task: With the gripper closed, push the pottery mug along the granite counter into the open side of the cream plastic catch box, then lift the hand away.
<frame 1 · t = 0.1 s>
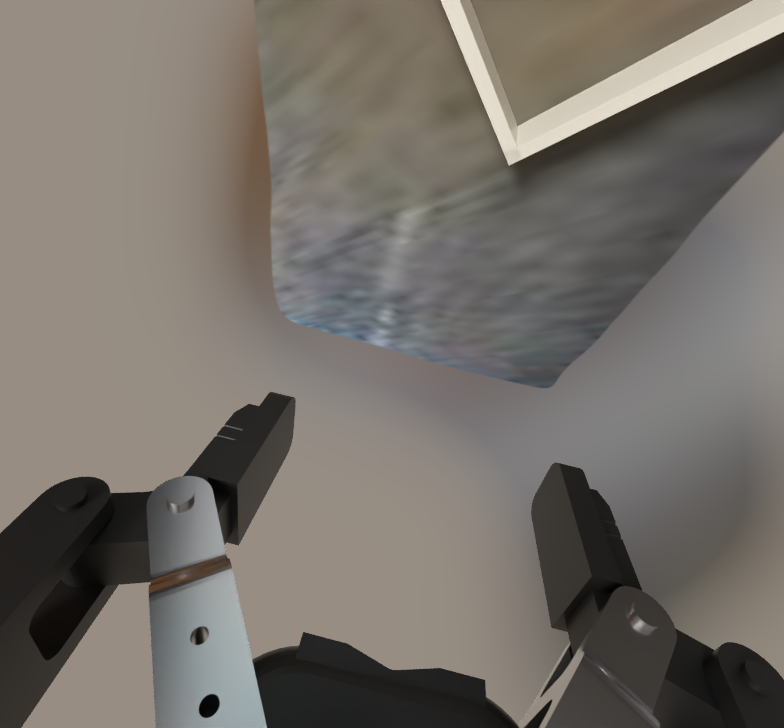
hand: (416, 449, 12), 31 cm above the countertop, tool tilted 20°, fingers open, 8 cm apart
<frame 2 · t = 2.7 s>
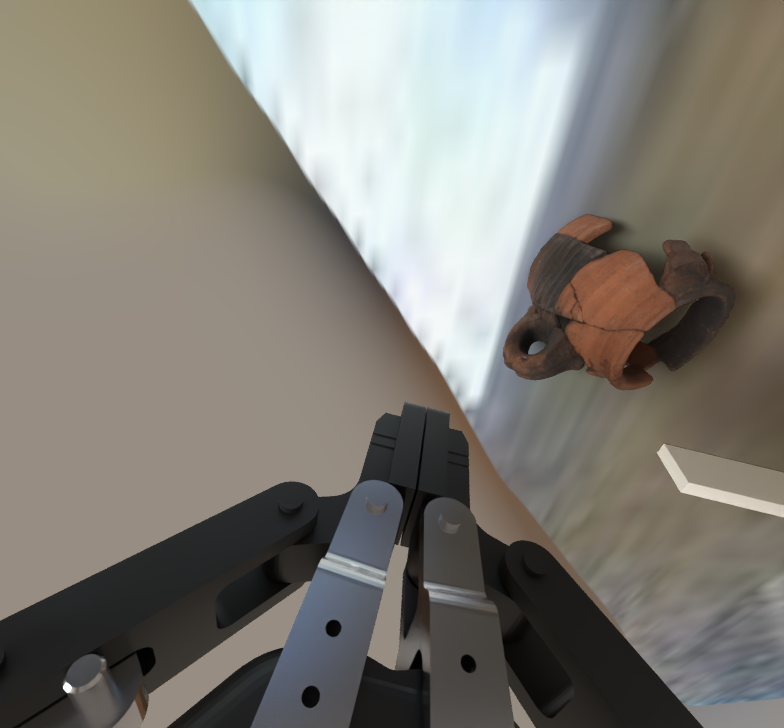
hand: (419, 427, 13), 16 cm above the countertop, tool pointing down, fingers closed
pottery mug: (584, 294, 27), on the countertop
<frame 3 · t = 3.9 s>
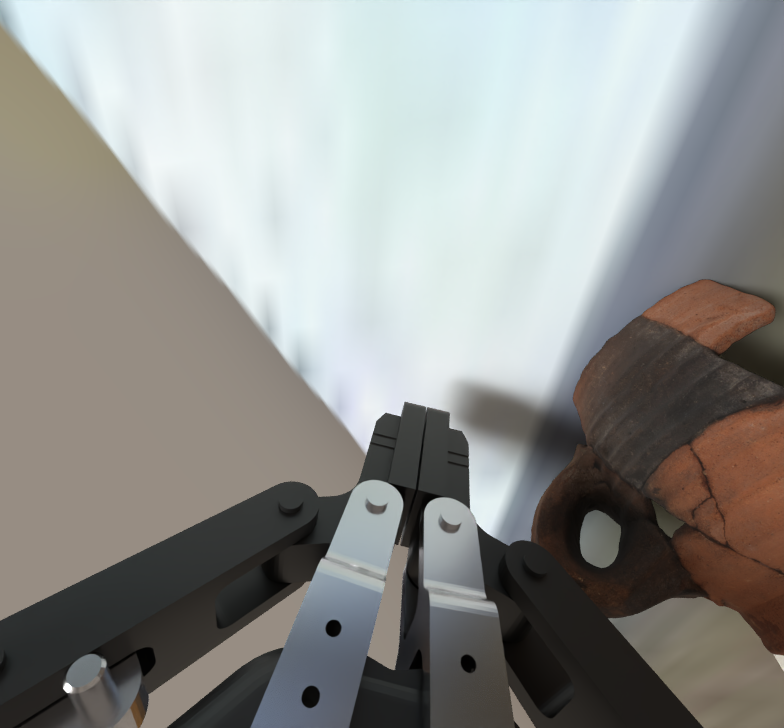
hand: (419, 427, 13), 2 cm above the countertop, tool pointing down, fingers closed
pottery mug: (677, 412, 15), on the countertop
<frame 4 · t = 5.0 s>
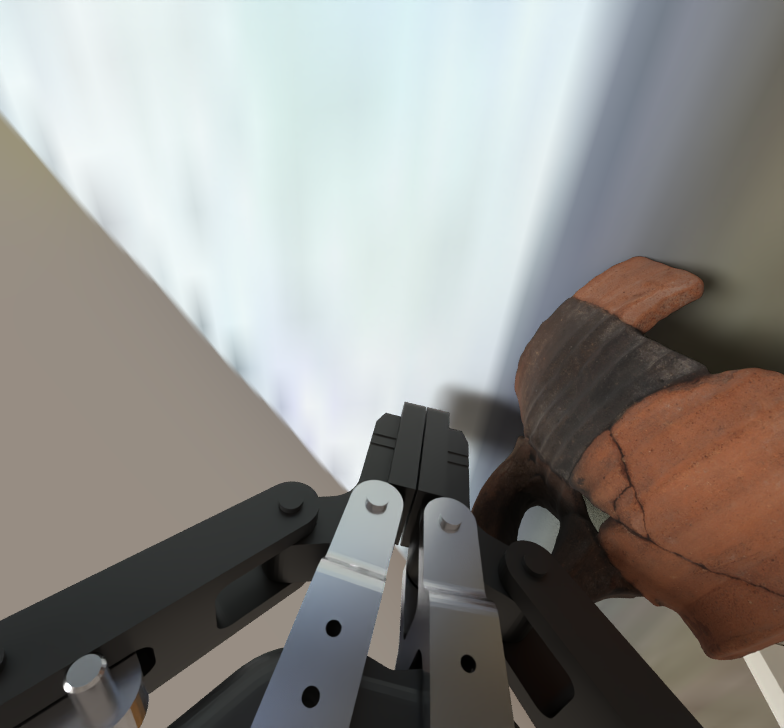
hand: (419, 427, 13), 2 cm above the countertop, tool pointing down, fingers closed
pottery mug: (626, 401, 14), on the countertop, touching gripper
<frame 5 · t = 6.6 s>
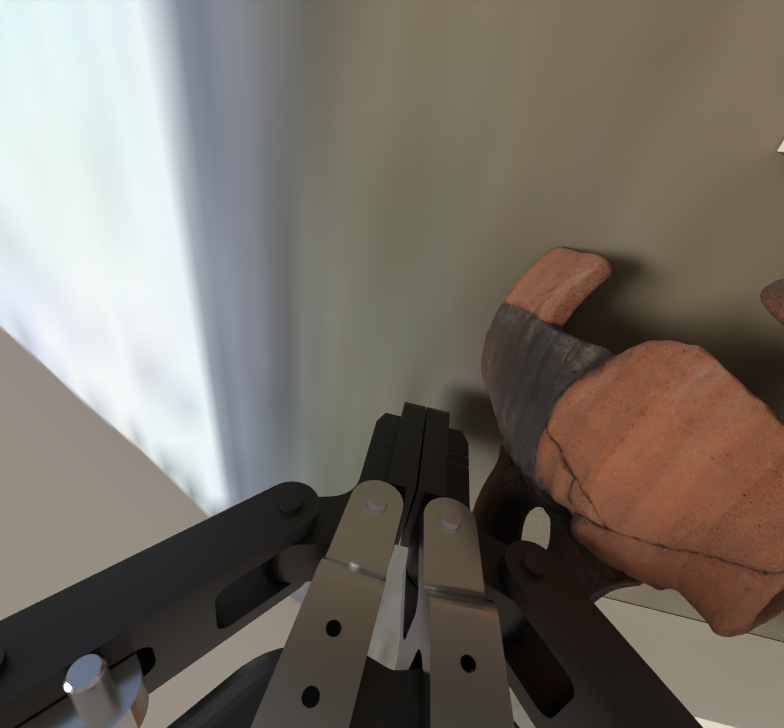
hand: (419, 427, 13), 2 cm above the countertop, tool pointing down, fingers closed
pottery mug: (607, 382, 14), on the countertop, touching gripper
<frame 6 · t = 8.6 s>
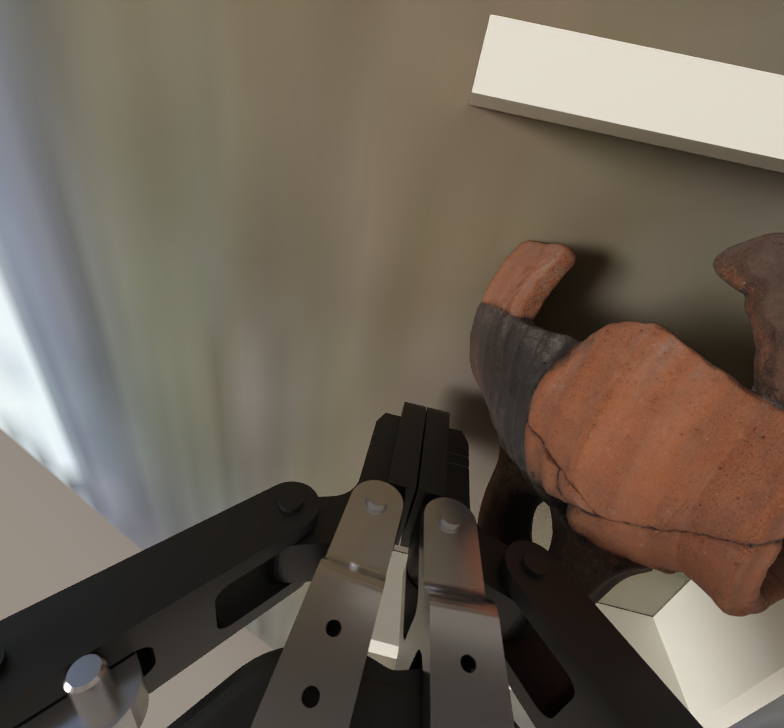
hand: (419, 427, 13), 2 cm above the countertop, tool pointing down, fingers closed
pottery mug: (602, 367, 13), on the countertop, touching gripper
catch box: (588, 439, 15), on the countertop
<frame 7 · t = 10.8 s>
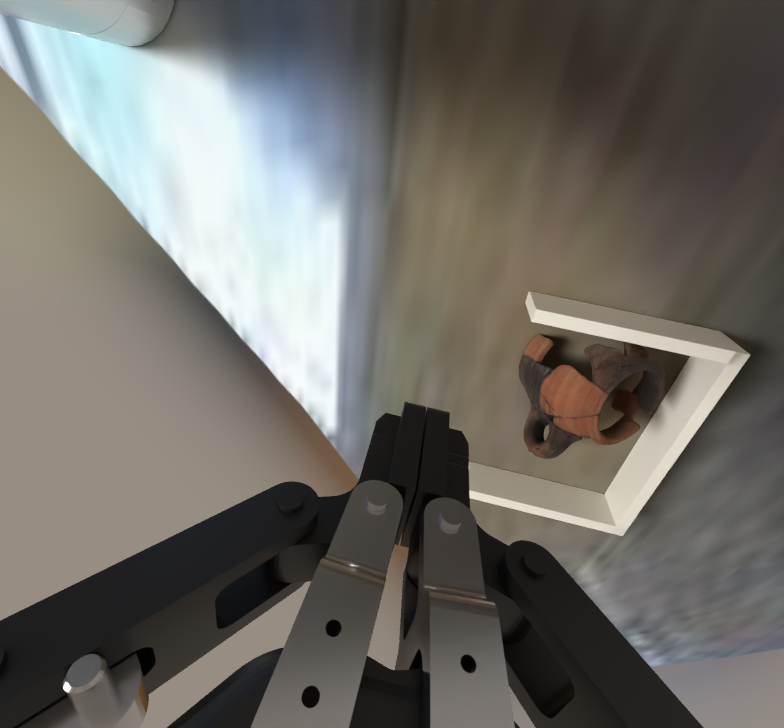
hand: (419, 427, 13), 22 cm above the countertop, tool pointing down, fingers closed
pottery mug: (568, 375, 36), on the countertop
catch box: (569, 408, 37), on the countertop
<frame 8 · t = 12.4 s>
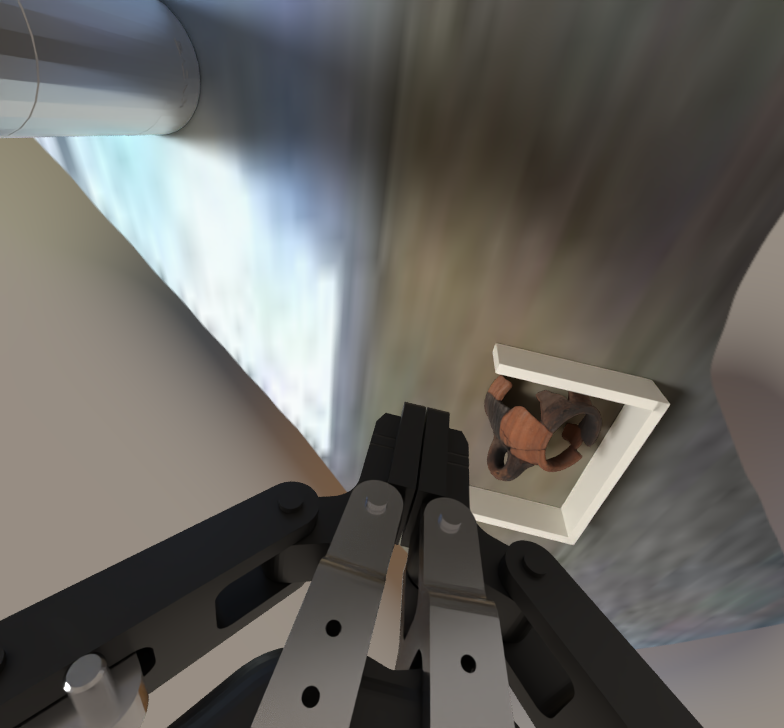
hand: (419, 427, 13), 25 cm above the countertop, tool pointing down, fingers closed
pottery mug: (526, 409, 42), on the countertop
catch box: (530, 437, 44), on the countertop
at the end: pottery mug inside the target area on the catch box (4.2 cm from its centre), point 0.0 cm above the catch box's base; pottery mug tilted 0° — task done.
